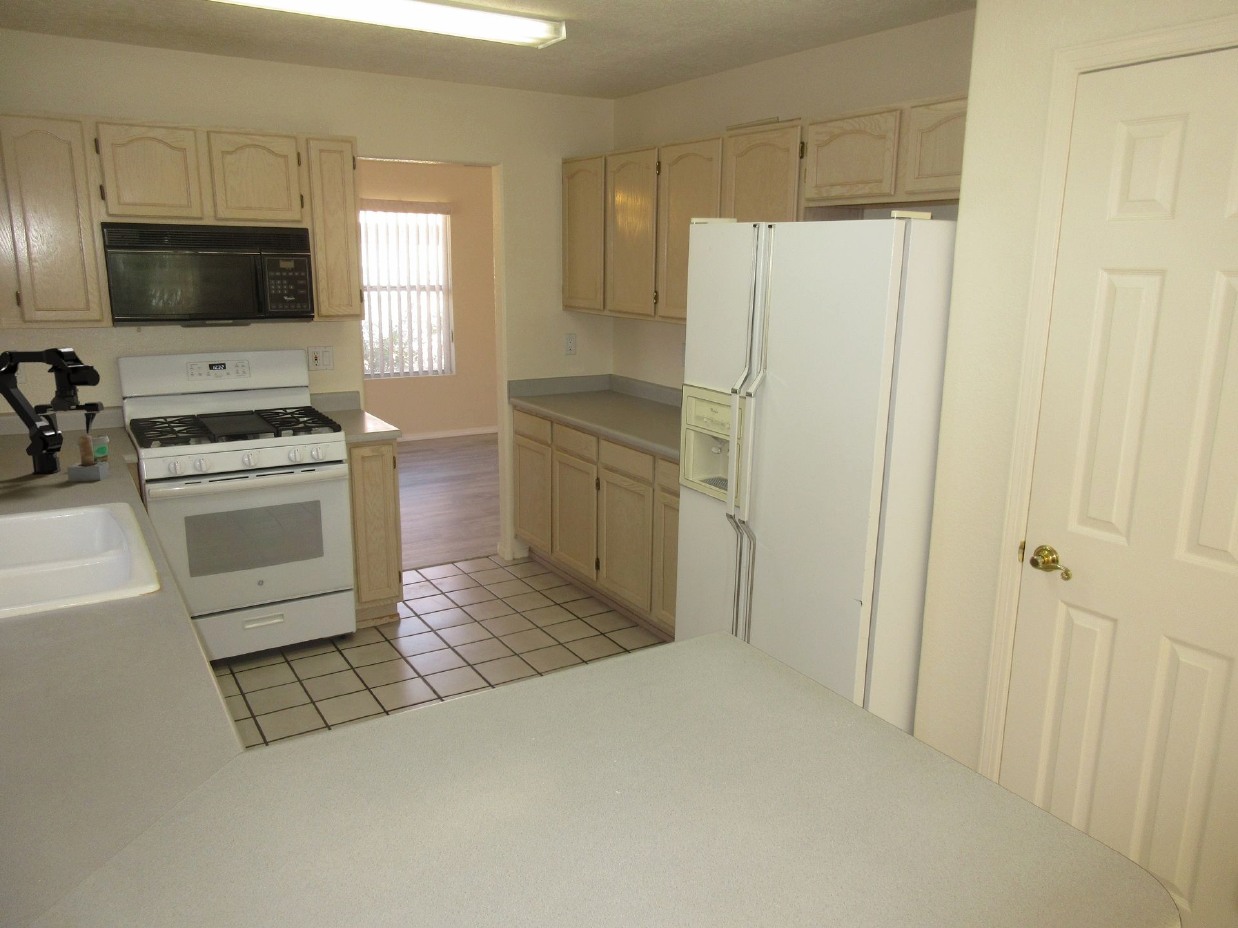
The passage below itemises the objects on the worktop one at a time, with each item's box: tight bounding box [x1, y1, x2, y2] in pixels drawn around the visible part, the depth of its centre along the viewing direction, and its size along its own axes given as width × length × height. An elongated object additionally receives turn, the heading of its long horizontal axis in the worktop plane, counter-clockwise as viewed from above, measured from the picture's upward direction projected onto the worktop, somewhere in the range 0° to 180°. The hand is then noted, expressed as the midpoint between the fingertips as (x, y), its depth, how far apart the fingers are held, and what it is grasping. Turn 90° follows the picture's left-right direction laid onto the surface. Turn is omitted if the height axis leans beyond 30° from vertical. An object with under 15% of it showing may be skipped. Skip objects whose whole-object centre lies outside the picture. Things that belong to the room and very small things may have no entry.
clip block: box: [66, 461, 111, 483], centre depth 279 cm, size 9×9×4 cm
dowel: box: [78, 435, 95, 466], centre depth 278 cm, size 4×4×12 cm
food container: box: [77, 434, 110, 462], centre depth 301 cm, size 12×6×10 cm, turn 179°
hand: (72, 434), depth 286 cm, fingers open, 9 cm apart
